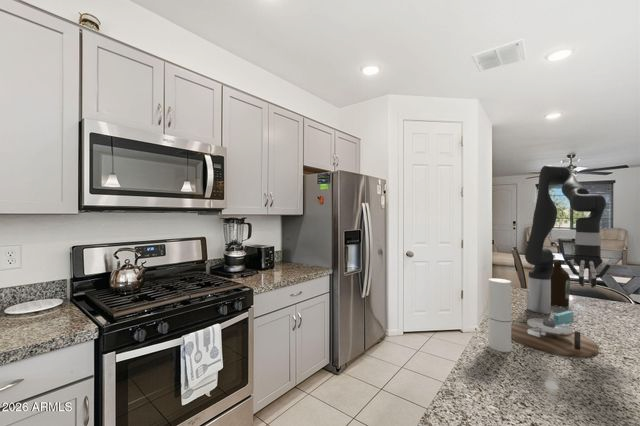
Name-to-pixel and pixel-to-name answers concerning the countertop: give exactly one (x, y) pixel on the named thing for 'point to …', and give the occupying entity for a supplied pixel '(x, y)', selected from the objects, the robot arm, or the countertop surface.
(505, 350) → the cylindrical container
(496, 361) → the countertop surface
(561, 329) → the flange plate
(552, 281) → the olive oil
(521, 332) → the base plate
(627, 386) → the countertop surface
